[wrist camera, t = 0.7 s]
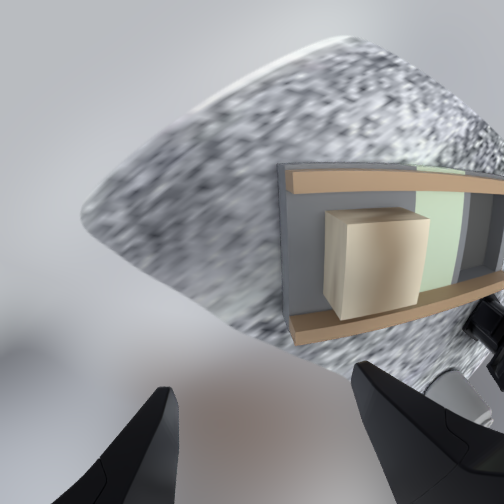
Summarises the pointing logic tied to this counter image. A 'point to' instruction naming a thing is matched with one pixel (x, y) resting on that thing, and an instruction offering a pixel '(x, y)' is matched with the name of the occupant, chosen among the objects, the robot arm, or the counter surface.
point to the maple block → (373, 259)
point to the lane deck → (383, 196)
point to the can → (460, 397)
